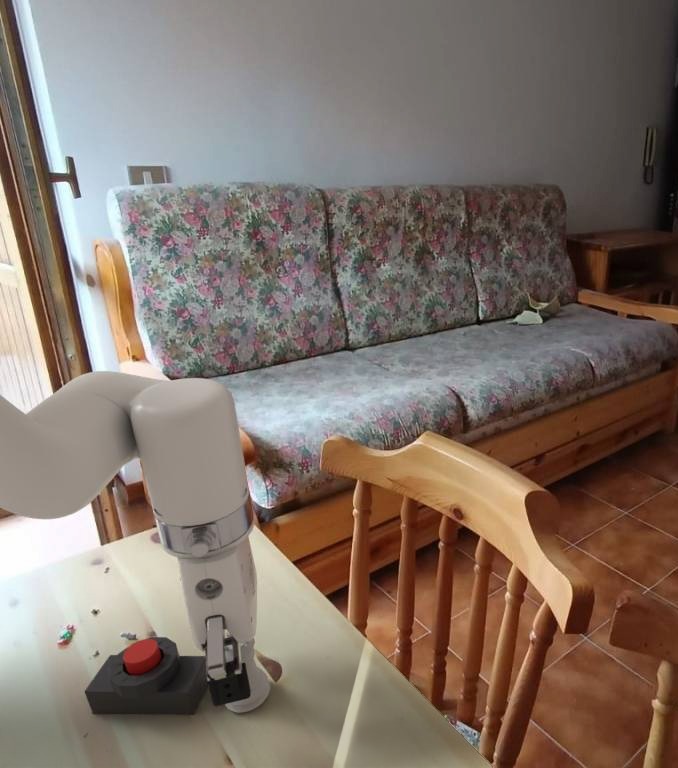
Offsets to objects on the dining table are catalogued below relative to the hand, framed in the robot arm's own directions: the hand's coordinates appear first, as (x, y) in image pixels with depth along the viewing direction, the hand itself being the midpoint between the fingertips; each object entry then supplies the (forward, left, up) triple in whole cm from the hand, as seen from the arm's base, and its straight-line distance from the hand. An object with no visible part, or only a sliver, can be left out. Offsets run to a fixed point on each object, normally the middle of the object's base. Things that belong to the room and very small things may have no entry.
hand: (234, 658), depth 62 cm
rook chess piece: (0, 0, -6) cm, 6 cm away
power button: (-9, +3, -1) cm, 9 cm away
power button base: (-9, +3, -5) cm, 11 cm away
